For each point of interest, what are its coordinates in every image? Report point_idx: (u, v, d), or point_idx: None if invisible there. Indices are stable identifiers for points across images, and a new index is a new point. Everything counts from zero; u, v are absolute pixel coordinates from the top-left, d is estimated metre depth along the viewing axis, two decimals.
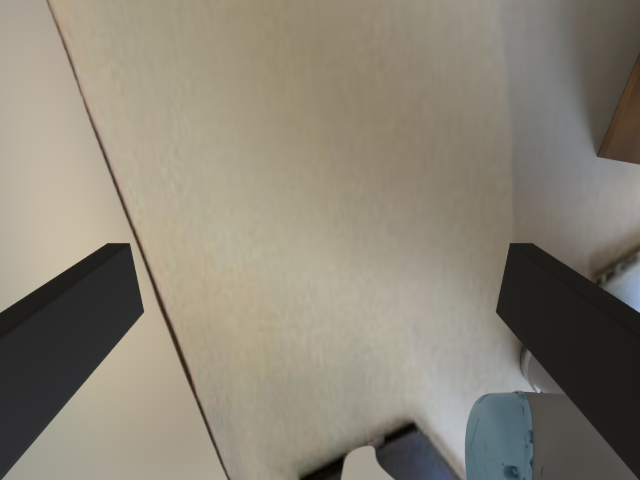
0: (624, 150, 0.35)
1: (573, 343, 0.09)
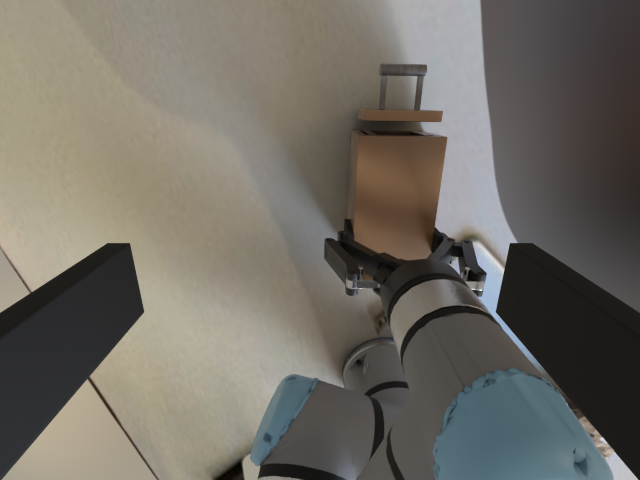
0: None
1: (573, 344, 0.09)
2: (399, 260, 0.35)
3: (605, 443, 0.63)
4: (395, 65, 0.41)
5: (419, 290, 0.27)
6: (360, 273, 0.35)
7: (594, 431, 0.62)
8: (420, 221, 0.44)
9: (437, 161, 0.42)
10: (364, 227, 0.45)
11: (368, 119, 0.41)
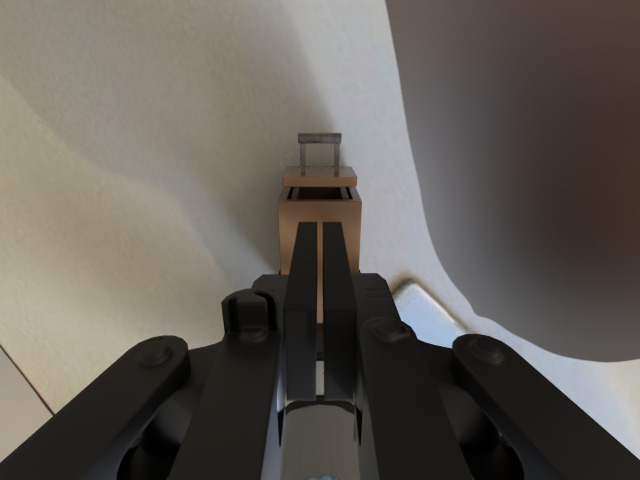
0: None
1: None
2: None
3: None
4: (311, 134, 0.43)
5: None
6: None
7: None
8: None
9: (354, 223, 0.44)
10: None
11: (287, 185, 0.43)
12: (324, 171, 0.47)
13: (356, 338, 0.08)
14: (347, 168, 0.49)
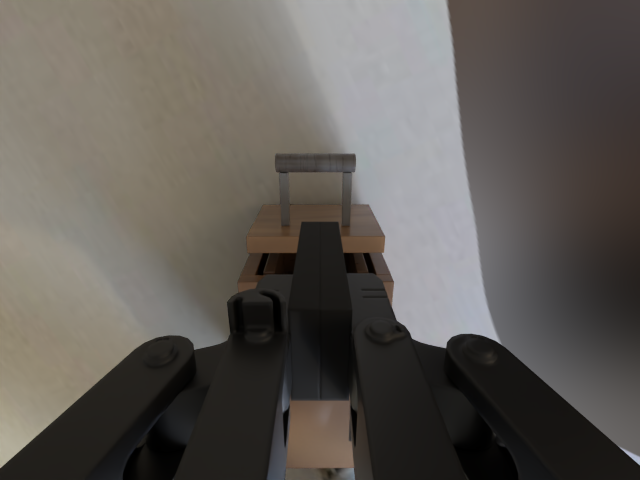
0: None
1: None
2: None
3: None
4: (300, 157, 0.23)
5: None
6: None
7: None
8: None
9: None
10: None
11: (256, 251, 0.23)
12: (324, 218, 0.27)
13: (351, 338, 0.08)
14: (362, 209, 0.29)
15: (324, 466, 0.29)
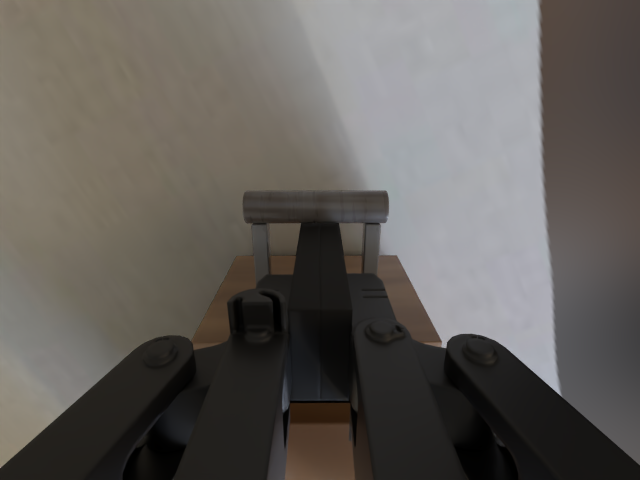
0: None
1: None
2: None
3: None
4: (288, 198, 0.13)
5: None
6: None
7: None
8: None
9: None
10: None
11: None
12: None
13: (351, 338, 0.08)
14: (389, 267, 0.19)
15: None
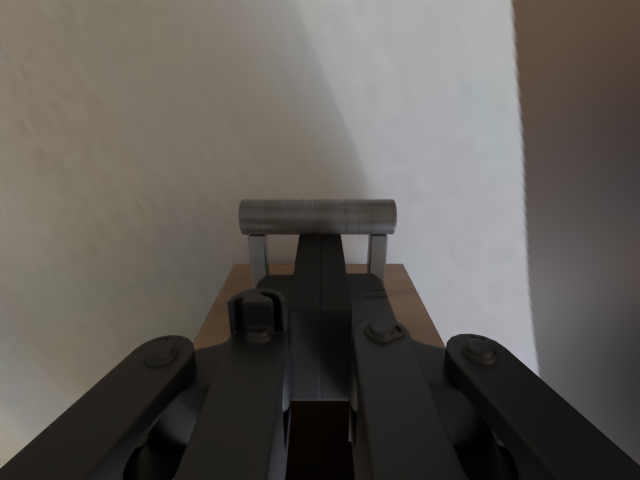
0: None
1: None
2: None
3: None
4: (288, 208, 0.12)
5: None
6: None
7: None
8: None
9: None
10: None
11: None
12: None
13: (351, 338, 0.08)
14: (395, 276, 0.18)
15: None
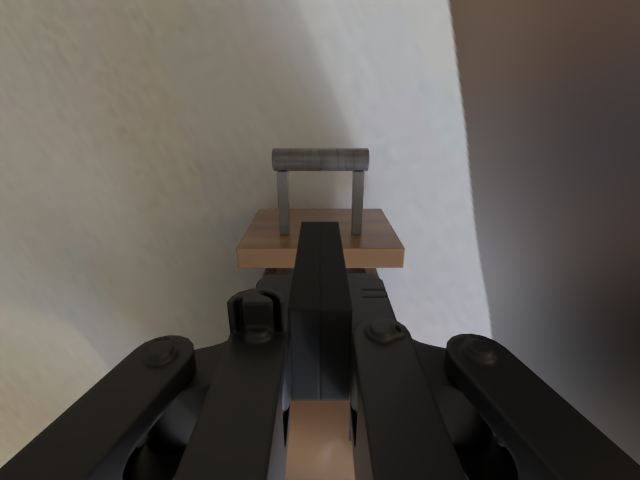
0: None
1: None
2: None
3: None
4: (302, 152, 0.19)
5: None
6: None
7: None
8: None
9: None
10: None
11: (248, 266, 0.19)
12: None
13: (351, 338, 0.08)
14: (374, 214, 0.25)
15: None
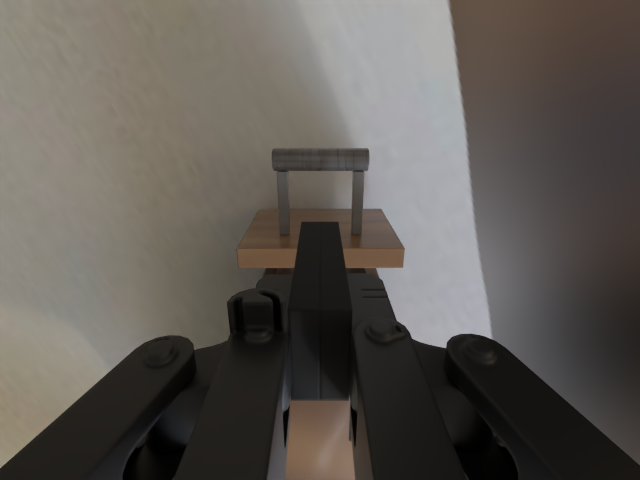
0: None
1: None
2: None
3: None
4: (302, 152, 0.19)
5: None
6: None
7: None
8: None
9: None
10: None
11: (248, 266, 0.19)
12: None
13: (351, 338, 0.08)
14: (374, 214, 0.25)
15: None
